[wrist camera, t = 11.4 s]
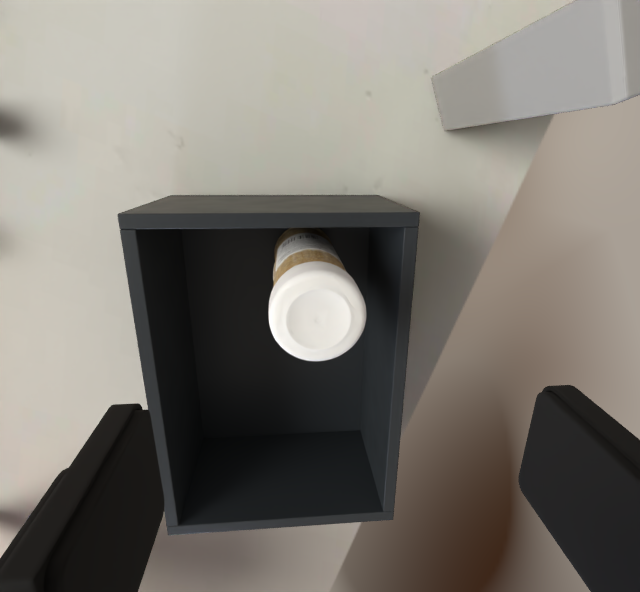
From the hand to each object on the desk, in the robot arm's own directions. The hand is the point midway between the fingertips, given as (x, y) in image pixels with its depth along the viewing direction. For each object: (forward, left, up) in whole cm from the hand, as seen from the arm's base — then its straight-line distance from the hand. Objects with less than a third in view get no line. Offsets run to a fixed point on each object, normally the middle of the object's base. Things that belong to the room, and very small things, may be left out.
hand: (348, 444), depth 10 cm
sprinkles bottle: (0, 0, -23) cm, 23 cm away
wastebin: (+7, -2, -23) cm, 24 cm away
